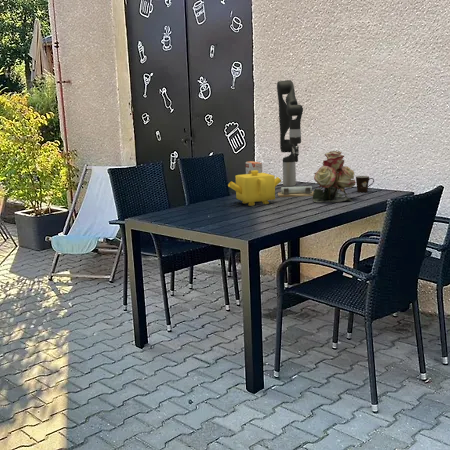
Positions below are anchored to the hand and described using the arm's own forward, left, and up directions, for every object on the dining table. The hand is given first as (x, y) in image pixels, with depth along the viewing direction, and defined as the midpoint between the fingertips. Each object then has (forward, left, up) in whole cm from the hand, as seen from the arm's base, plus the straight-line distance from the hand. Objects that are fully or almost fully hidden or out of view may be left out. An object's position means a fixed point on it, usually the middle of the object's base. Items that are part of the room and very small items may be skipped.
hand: (295, 160), depth 384 cm
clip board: (+5, 0, -22) cm, 22 cm away
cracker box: (-12, -27, -22) cm, 37 cm away
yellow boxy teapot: (+27, -28, -22) cm, 45 cm away
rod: (+5, 0, -19) cm, 19 cm away
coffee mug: (+2, +45, -22) cm, 50 cm away
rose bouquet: (+25, +21, -22) cm, 40 cm away
